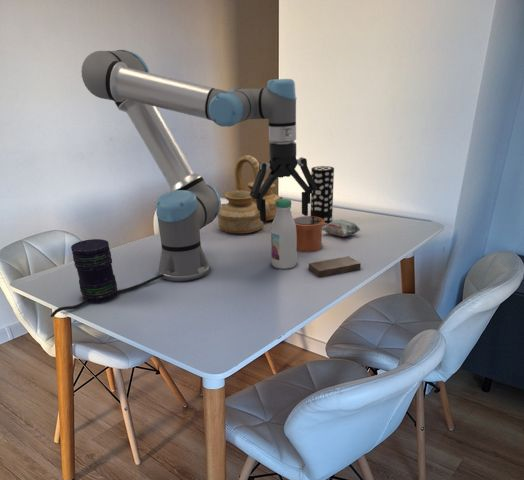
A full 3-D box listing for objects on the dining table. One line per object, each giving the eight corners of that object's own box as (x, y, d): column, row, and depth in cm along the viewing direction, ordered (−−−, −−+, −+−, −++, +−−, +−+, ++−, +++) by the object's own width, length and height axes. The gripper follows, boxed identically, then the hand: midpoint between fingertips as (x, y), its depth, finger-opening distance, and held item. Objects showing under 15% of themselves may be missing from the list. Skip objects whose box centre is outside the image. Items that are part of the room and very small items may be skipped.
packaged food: (344, 241, 178) (345, 227, 175) (319, 234, 185) (320, 220, 183) (360, 235, 183) (361, 222, 180) (335, 229, 190) (336, 216, 188)
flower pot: (299, 254, 168) (299, 227, 163) (285, 244, 177) (285, 218, 172) (329, 249, 171) (330, 222, 167) (314, 239, 180) (314, 214, 176)
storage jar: (125, 295, 143) (115, 244, 136) (93, 307, 137) (81, 253, 130) (107, 286, 150) (97, 236, 142) (76, 296, 144) (64, 245, 136)
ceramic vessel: (253, 238, 184) (250, 166, 171) (209, 233, 191) (203, 163, 179) (291, 214, 210) (290, 149, 197) (251, 210, 217) (248, 147, 205)
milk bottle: (297, 260, 163) (297, 197, 153) (295, 269, 156) (296, 203, 146) (272, 260, 164) (271, 197, 154) (270, 269, 157) (269, 203, 147)
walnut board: (319, 277, 150) (319, 271, 149) (308, 269, 156) (308, 263, 155) (360, 269, 155) (360, 263, 154) (348, 262, 160) (348, 256, 159)
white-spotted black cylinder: (307, 220, 201) (308, 167, 191) (326, 217, 203) (328, 165, 193) (315, 226, 195) (316, 171, 184) (335, 223, 197) (337, 169, 187)
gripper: (245, 148, 135) (249, 227, 146) (329, 139, 143) (327, 215, 153) (235, 144, 141) (240, 220, 152) (316, 136, 149) (315, 209, 159)
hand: (284, 218), depth 153 cm, fingers open, 13 cm apart
